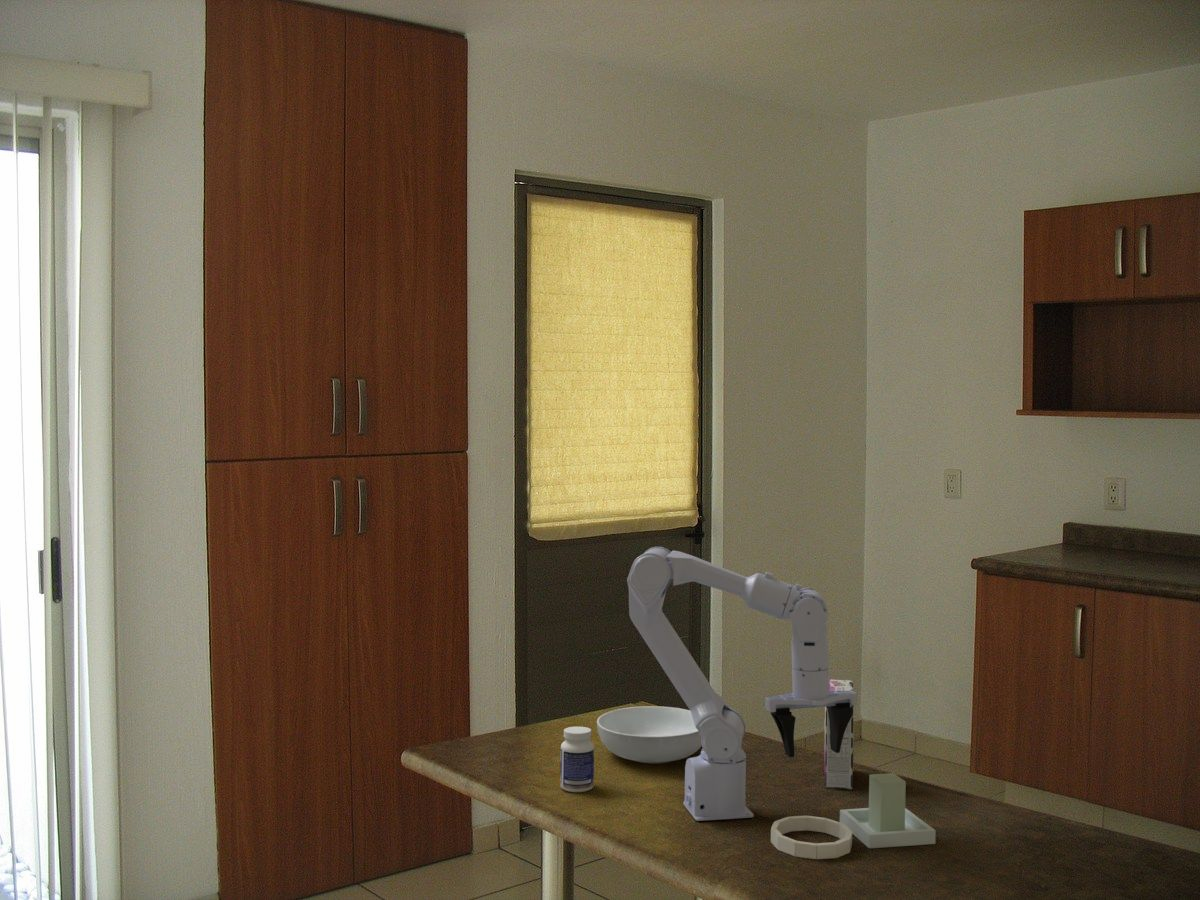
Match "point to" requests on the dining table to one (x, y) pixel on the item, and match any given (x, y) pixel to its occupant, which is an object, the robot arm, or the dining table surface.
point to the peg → (886, 802)
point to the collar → (809, 848)
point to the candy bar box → (841, 763)
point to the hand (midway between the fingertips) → (812, 753)
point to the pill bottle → (577, 760)
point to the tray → (912, 835)
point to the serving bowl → (649, 733)
